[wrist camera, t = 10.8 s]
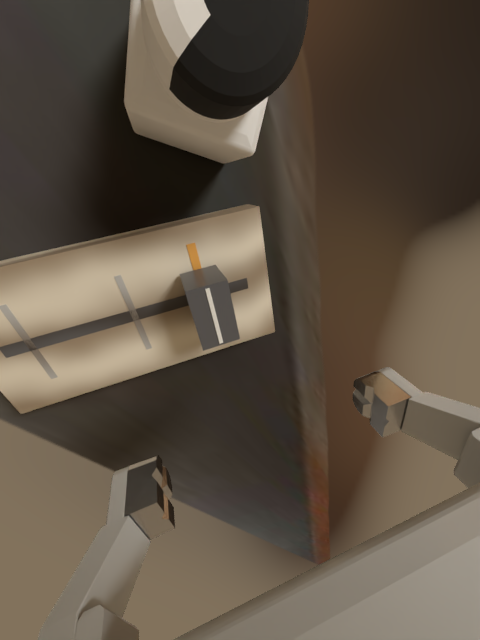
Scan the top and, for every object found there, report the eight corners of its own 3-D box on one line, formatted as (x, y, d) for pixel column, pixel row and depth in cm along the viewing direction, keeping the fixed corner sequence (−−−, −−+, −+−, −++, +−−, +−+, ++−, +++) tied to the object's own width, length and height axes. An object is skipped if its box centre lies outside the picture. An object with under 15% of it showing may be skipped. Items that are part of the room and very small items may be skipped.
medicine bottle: (248, 53, 19) (367, -107, 8) (225, 165, 21) (293, 147, 11) (143, -3, 16) (127, -337, 6) (132, 133, 19) (108, 69, 8)
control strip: (-59, 274, 19) (-93, 288, 16) (247, 204, 23) (259, 206, 20) (34, 390, 25) (20, 414, 22) (264, 318, 29) (275, 331, 26)
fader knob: (179, 274, 21) (185, 291, 17) (215, 264, 21) (227, 280, 18) (195, 326, 23) (203, 351, 20) (227, 316, 24) (240, 339, 20)
